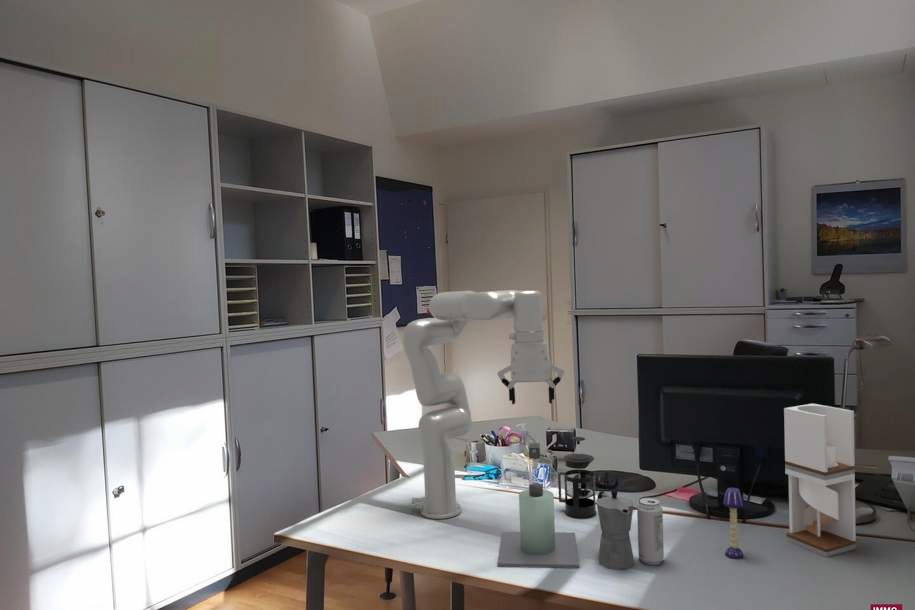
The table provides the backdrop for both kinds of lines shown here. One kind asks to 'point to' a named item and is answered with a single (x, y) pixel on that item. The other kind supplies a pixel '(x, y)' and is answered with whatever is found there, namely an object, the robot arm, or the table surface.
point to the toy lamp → (733, 520)
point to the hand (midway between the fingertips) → (532, 402)
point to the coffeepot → (615, 531)
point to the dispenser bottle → (537, 535)
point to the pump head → (534, 453)
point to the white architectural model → (820, 478)
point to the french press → (578, 486)
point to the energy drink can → (650, 531)
